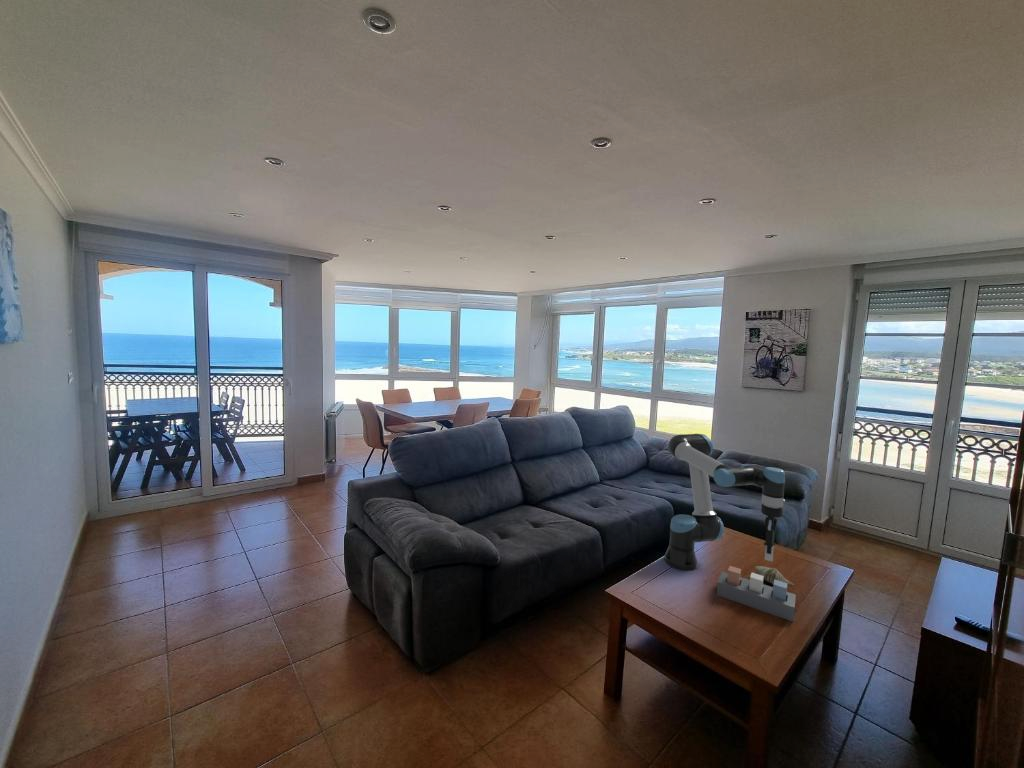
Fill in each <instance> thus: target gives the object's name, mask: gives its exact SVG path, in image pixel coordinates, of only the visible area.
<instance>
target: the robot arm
mask: <svg viewBox="0 0 1024 768" xmlns="http://www.w3.org/2000/svg"><path fill="white" fill-rule="evenodd" d="M667 445H668V446H667V448H668V451H669V453H670V454H671V456H672V457H674V458H675V459H678V460H679V461H684V462H686V463H688V465H689V467H688V468H689V474H690V475H689V476H690V482H691V483H690V484H691V491H692V499H693V508H694V510H693V512H692V513H691V515H690V514H682V513H681V514H676V515H674V516H672V517H671V520H670V523H669V524H670V525H669V528H670V529H669V545H668V547H667V549H666V552H665V554H664V562H665V563H666V564H667V565H668V566H670V567H672V568H675V569H676V570H677V569H678V570H683V571H692V570H695V569H696V568H697V567H698V560H697V556H696V552H695V545H696V544H695V543H703V542H704V543H705V542H714V541H716V540H717V541H718V540H720V539H721V538H722V537H723V535H724V531H725V527H724V522H723V521H722V519H721V518H720V517H719V516H718V515H717V512H716V511H714V508H713V501H712V494H711V493H712V492H711V487H710V477H712V478H713V481H714V482H715V484H716V485H717V486H719V487H725V488H728V487H737V486H738V487H739V486H750V485H753V486H756V487H759V488H762V493H761V507H760V508H761V510H760V512H761V514H762V515H764V516H765V520H764V523H765V542H764V543H763V545H764V546H765V548H764V549H765V551H764V560H765V561H768V562H773V561H774V546H776V543H777V542H776V543H775V536H776V535H775V533H776V529H777V524H778V518H781V517H783V512H784V511H783V510H784V508H783V506H784V503H786V500H785V499H784V497H785V494H784V493H785V486H786V485H785V484H786V472H785V470H783V469H781V468H779V467H772V466H766V467H764V469H763V468H760V467H757V466H755V465H752V464H751V465H750V464H743V465H741V466H739V467H730V466H728V465H726V464H724V463H722V462H720V461H718V460H717V459H715V458H713V457H711V455H712V453H713V451H714V445H713V442H712V440H711V438H710V437H708V436H707V435H706V434H704V433H703V434H702V433H688V434H685V433H684V434H681V433H679V434H676V435H674V436H672V437H671V439H670V440H669V441H668V444H667Z"/></svg>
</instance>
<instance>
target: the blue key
mask: <svg viewBox="0 0 1024 768" xmlns="http://www.w3.org/2000/svg"><path fill="white" fill-rule="evenodd" d="M772 587H773V596H772V597H774V598H777V599H780V600H783V601H786V593H787V592H788V591H787V590H788V586H787V583H785V582H781V581H778V580H775V579H774V585H772Z"/></svg>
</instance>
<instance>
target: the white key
mask: <svg viewBox="0 0 1024 768" xmlns="http://www.w3.org/2000/svg"><path fill="white" fill-rule="evenodd" d="M763 579H764V576H762V575H759V574H756V572H751V574H750V576H749V580H750V584H749V589H750V590H753V591H756V592H759V593H762V590H763Z"/></svg>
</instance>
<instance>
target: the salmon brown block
mask: <svg viewBox="0 0 1024 768" xmlns="http://www.w3.org/2000/svg"><path fill="white" fill-rule="evenodd" d="M727 573H728V576H727V582H728V583H731V584H734V585H738V586H740V580H741V577H742V569H741V568H738V567H736V566H732V565H729V567H728V568H727Z"/></svg>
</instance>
